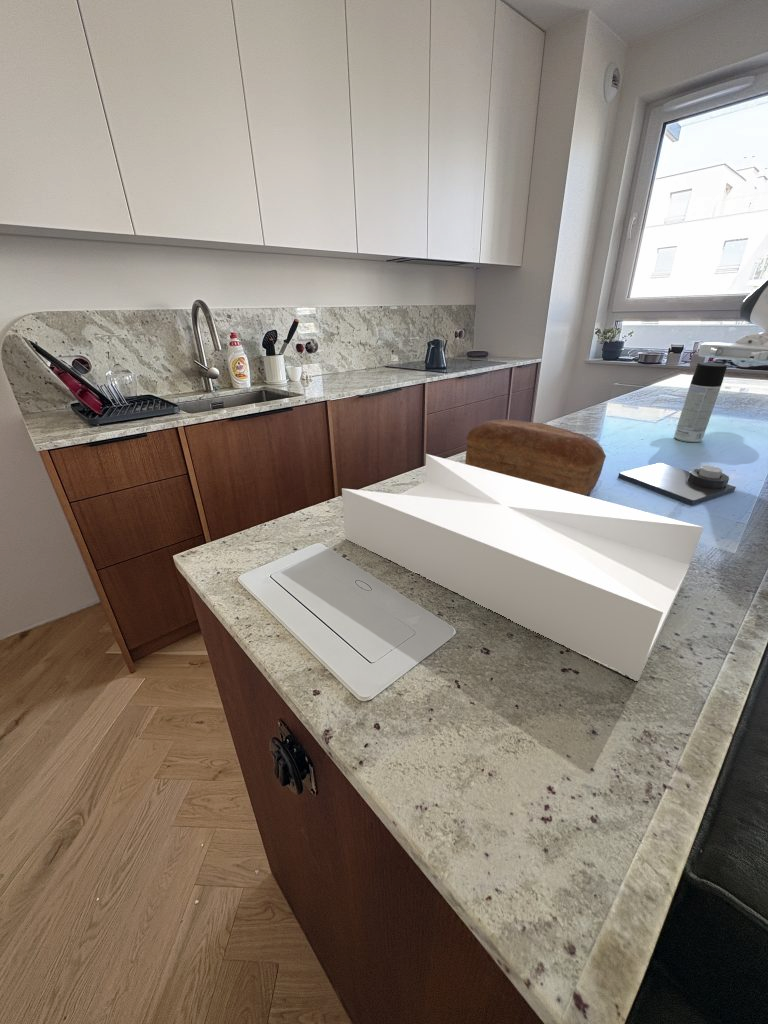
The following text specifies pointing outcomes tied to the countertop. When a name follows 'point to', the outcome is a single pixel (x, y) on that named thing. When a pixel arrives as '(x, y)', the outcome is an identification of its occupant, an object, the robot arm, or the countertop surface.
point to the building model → (535, 555)
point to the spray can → (700, 402)
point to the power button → (710, 472)
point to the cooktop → (678, 483)
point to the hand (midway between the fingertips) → (732, 354)
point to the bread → (536, 454)
